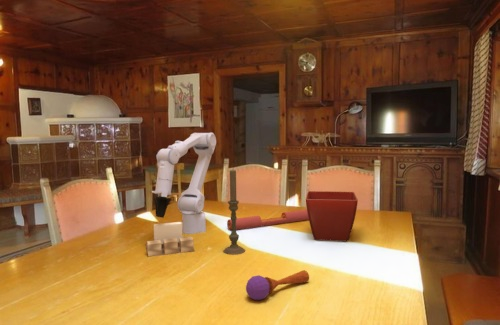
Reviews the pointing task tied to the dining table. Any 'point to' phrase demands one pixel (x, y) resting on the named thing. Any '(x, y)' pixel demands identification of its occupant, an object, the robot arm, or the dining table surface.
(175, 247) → the block
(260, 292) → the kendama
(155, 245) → the offcut
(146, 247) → the rack
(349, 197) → the plant pot
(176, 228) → the cream rectangular block
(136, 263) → the dining table surface
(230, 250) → the candlestick holder
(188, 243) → the offcut
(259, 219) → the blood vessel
